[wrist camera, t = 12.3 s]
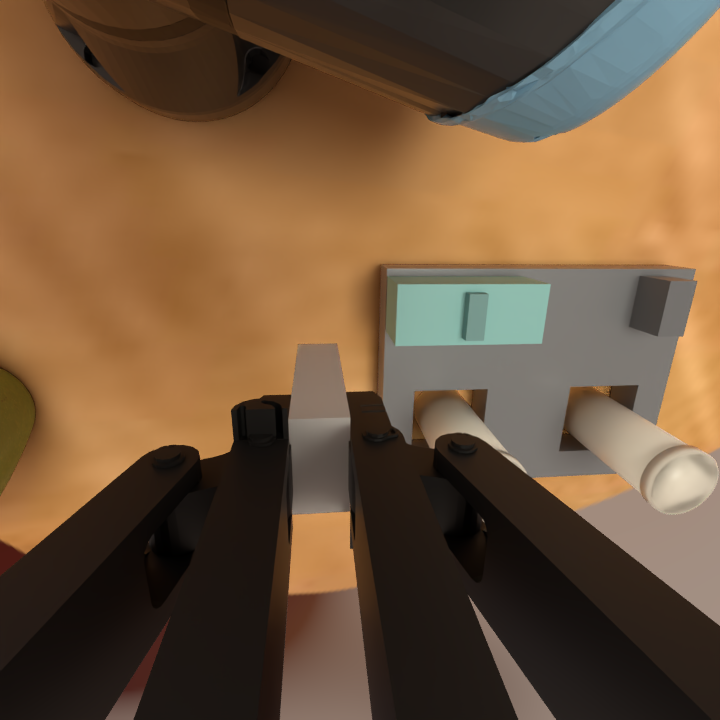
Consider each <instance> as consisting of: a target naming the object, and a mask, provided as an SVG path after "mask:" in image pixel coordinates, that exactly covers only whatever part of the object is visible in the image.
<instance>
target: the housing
mask: <svg viewBox="0 0 720 720" xmlns="http://www.w3.org/2000/svg"><path fill="white" fill-rule="evenodd" d="M695 270H696V269H691V268H684V267H676V266H669V265H439V264H381V280H380V317H379V354H378V391H377V395H379V396H380V397H381V398H382V401H383V404H384V406H385V409H386V412H387V414H388V417H389V420H390V422H391V425H392V426H393V427H395V428H397V429H399V430H400V432H401V433H402V434H403V436H404V438H405V441H406V443H408V444H411V445H414V446H419V447H425V448H430V447H429V445H428V443H427V441H426V439H422V440H412V427H413V409H414V392H415V391H437V390H473V398H472V407H471V408H472V409H473V411H474V412H475V413H476V414H477V416H478V417H479V418H480V419H481V420H482V422H483V423H484V424H485V425H486V426H487V428H488V429H489V430H490V431H491V433H492V434H493V435H494V436H495V437H496V439H497V440H498V441H499V442H500V443H501V445H502V446H503V447H504V448H505V449H506V451H507V452H508V453H509V454H511V455H513V456H514V457H515V458H516V459H517V460H518V461H519V463H520V464H521V465H522V466H523V467H524V469H525V470H526V472H527V475H529V476H530V477H531V478H535V477H556V476H576V475H597V474H617V473H616V472H615V471H613V470H612V469H611V468H610V467H609V466H608V465H606V464H605V463H604V462H603V461H602V460H600V459H599V458H598V457H597V456H596V455H594V454H593V453H592V452H591V451H590V450H589V449H587V448H586V447H585V446H584V445H583V444H581V443H580V442H579V441H578V440H577V439H576V438H574V437H573V436H572V435H571V434H562V431H563V426H564V420H565V415H566V409H567V404H568V398H569V392H570V387H584V386H612V388H611V393H610V398H611V399H613V400H615V401H616V402H618V403H620V404H621V405H623V406H625V407H626V408H628V409H630V410H631V411H633V412H634V413H636V414H638V415H639V416H641V417H643V418H644V419H646V420H648V421H649V422H651V423H653V424H654V425H656V423H657V419H658V415H659V411H660V408H661V404H662V400H663V396H664V392H665V388H666V384H667V380H668V376H669V372H670V368H671V364H672V361H673V357H674V353H675V349H676V345H677V341H678V337H679V336H683V335H684V331H685V327H686V323H687V319H688V315H689V312H690V308H691V304H692V300H693V296H694V292H695V288H696V284H697V281H694V280H693V278H694V274H695ZM388 276H523V277H527V278H531V279H534V280H538V281H541V282H545V283H549V284H551V286H550V293H549V300H548V306H547V313H546V319H545V326H544V333H543V339H542V344H497V345H436V346H395V345H394V343H393V342H392V340H391V338H390V337H389V335H388V334H387V332H386V308H387V277H388Z"/></svg>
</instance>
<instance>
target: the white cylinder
mask: <svg viewBox="0 0 720 720" xmlns="http://www.w3.org/2000/svg"><path fill="white" fill-rule="evenodd" d="M414 417H415V419H416V421H417V423H418V425H419V427H420V429H421V431H422V433H423V435H424V437H425V439H426V441H427V443H428V445H429V447H430V448H432V449H434V448H435V440H436V439H437V438H438V437H440V436H442V435H445V434H448V433H456V432H459V433H467V434H470V435H472V436H476V437H478V438H480V439H482V440H484V441H485V442H487V443H488V444H489V445H491V446H492V447H493V448H494V449H496V450H497V451H498V452H499V453H501V454H502V455H503V456H505V457H506V458H507V459H508V460H510V461H511V462H512V463H513V464H515V465H516V466H517V467H518V468H520V469H521V470H522V471H524V472H525V473H526V474H527V472H526V470H525V469H524V467H523V466H522V465H521V464H520V463H519V461H518V460H517V459H516V458H515V457H514V456H513V455H511V454H509V453H508V452H507V451H506V449H505V448H504V447H503V446H502V445H501V443H500V442H499V441H498V440H497V439H496V437H495V436H494V435H493V434H492V433H491V431H490V430H489V429H488V428H487V426H486V425H485V424H484V423H483V422H482V420H481V419H480V418H479V417H478V416H477V414H476V413H475V412H474V411H473V409H472V408H471V407H470V406H469V405H468V403H467V402H466V401H465V400H464V399H463V397H462V396H461V395H460V394H459V393H458V391H456V390H437V391H423V392H422V393H421V394H420V395H419V396H418V398H417V399H416V402H415V404H414ZM482 521H483V520H482ZM483 522H484V521H483Z"/></svg>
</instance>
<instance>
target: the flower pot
mask: <svg viewBox="0 0 720 720" xmlns="http://www.w3.org/2000/svg"><path fill="white" fill-rule="evenodd" d="M34 421H35V406H34V402H33V399H32V397H31V395H30V393H29V392H28V390H27V389H26V387H25V386H24V385H23V384H22V383H21V382H20V381H19V380H18V379H17V378H16V377H15V376H13V375H12V374H10V373H9V372H7V371H5V370H3V369H1V368H0V495H1V493H2V492H3V490H4V488H5V487H6V485H7V483H8V481H9V479H10V477H11V475H12V473H13V471H14V470H15V468H16V466H17V463H18V461H19V459H20V457H21V455H22V453H23V451H24V448H25V446H26V443H27V441H28V438H29V436H30V433H31V431H32V428H33V425H34Z"/></svg>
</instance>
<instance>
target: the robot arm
mask: <svg viewBox="0 0 720 720" xmlns="http://www.w3.org/2000/svg"><path fill="white" fill-rule="evenodd" d="M43 1H44V3H45V5H46V7H47V9H48V11H49V13H50V15H51V17H52V19H53V20H54V22H55V24H56V26H57V27H58V29H59V30H60V32H61V34H62V35H63V37H64V38H65V40H66V41H67V42H68V44H69V45H70V47H71V48H72V49H73V50H74V51H75V53H76V54H77V55H78V56H79V57H80V59H81V60H82V61H83V62H84V63H85V64H86V65H87V66H88V67H89V68H90V69H91V70H92V71H93V72H94V73H95V74H96V75H97V76H98V77H99V78H101V79H102V80H103V81H104V82H105V83H107V84H108V85H109V86H110V87H112V88H113V89H115V90H116V91H118V92H119V93H121V94H122V95H124V96H125V97H127V98H128V99H130V100H131V101H133V102H134V103H136V104H138V105H140V106H142V107H143V108H145V109H148V110H150V111H152V112H154V113H157V114H159V115H162V116H166V117H169V118H173V119H177V120H184V121H213V120H219V119H223V118H227V117H230V116H233V115H235V114H238V113H240V112H242V111H244V110H246V109H248V108H249V107H251V106H252V105H254V104H255V103H257V102H258V101H259V100H261V99H262V98H263V97H264V96H265V95H266V94H267V93H268V92H269V91H270V90H271V89H272V88H273V87H274V86H275V85H276V83H277V82H278V81H279V79H280V78H281V77H282V75H283V73H284V72H285V70H286V68H287V67H288V65H289V63H290V61H291V59H293V60H295V61H298V62H300V63H303V64H305V65H308V66H310V67H312V68H315V69H317V70H320V71H322V72H325V73H327V74H330V75H332V76H334V77H337V78H339V79H342V80H344V81H347V82H349V83H352V84H354V85H356V86H359V87H361V88H364V89H366V90H369V91H371V92H374V93H376V94H378V95H381V96H383V97H386V98H388V99H391V100H393V101H396V102H398V103H401V104H403V105H405V106H408V107H410V108H413V109H415V110H418V111H420V112H423V113H424V114H425V115H426V116H427V118H428V119H429V120H430V121H433V122H435V123H438V124H441V125H449V126H453V125H462V126H465V127H468V128H471V129H474V130H477V131H480V132H483V133H486V134H489V135H492V136H495V137H498V138H501V139H504V140H507V141H512V142H523V143H524V142H536V141H539V140H542V139H545V138H547V137H550V136H552V135H556V134H558V133H566V132H568V131H571V130H573V129H575V128H577V127H579V126H581V125H583V124H585V123H586V122H588V121H590V120H591V119H593V118H595V117H596V116H598V115H600V114H601V113H603V112H604V111H606V110H607V109H609V108H610V107H612V106H613V105H615V104H616V103H617V102H619V101H620V100H622V99H623V98H624V97H626V96H627V95H628V94H629V93H631V92H632V91H633V90H635V89H636V88H637V87H638V86H639V85H641V84H642V83H643V82H644V81H645V80H647V79H648V78H649V77H650V76H651V75H652V74H654V73H655V72H656V71H657V70H658V69H659V68H660V67H661V66H662V65H664V64H665V63H666V62H667V61H668V60H669V59H670V58H671V57H672V56H673V55H674V54H675V53H676V52H677V51H678V50H679V49H680V48H681V47H682V46H683V45H684V44H685V43H686V42H687V41H688V40H689V39H691V38H692V37H693V35H694V34H695V33H696V32H697V31H698V30H699V29H700V28H701V27H702V26H703V25H704V24H705V23H706V22H707V21H708V20H709V19H710V18H711V17H712V16H713V14H714V13H715V12H716V11H717V10H718V9H719V8H720V0H43ZM231 415H232V426H233V437H234V442H233V445H232V448H231V450H230V452H228V453H226V454H223V455H220V456H216V457H212V458H207V459H203V460H200V455H199V451H198V450H197V449H195V448H194V447H191V446H186V445H168V446H163V447H160V448H159V449H156V450H153V451H151V452H149V453H147V454H146V455H144V456H142V457H141V458H140V459H139V460H137V461H136V462H135V463H134V464H133V465H131V466H130V467H129V468H128V469H127V470H126V471H124V472H123V473H122V474H121V475H120V476H118V477H117V478H116V479H115V480H114V481H112V482H111V483H110V484H109V485H108V486H107V487H105V488H104V489H103V490H102V491H101V492H99V493H98V494H97V495H96V496H95V497H93V498H92V499H91V500H90V501H89V502H88V503H86V504H85V505H84V506H83V507H82V508H80V509H79V510H78V511H77V512H76V513H74V514H73V515H72V516H71V517H70V518H69V519H67V520H66V521H65V522H64V523H63V524H61V525H60V526H59V527H58V528H57V529H55V530H54V531H53V532H52V533H51V534H50V535H48V536H47V537H46V538H45V539H44V540H42V541H41V542H40V543H39V544H38V545H36V546H35V547H34V548H33V549H32V550H31V551H29V552H28V553H27V554H26V555H25V556H23V557H22V558H21V559H20V560H19V561H18V562H16V563H15V564H14V565H13V566H12V567H10V568H9V569H8V570H7V571H6V572H4V573H3V574H2V575H1V576H0V720H105V719H106V717H107V716H108V714H109V713H110V711H111V709H112V708H113V706H114V705H115V703H116V702H117V700H118V698H119V697H120V695H121V694H122V692H123V690H124V689H125V687H126V686H127V684H128V683H129V681H130V679H131V678H132V676H133V675H134V673H135V672H136V670H137V668H138V667H139V665H140V664H141V662H142V661H143V659H144V657H145V656H146V654H147V653H148V651H149V650H150V648H151V646H152V645H153V643H154V642H155V640H156V639H157V637H158V635H159V634H160V632H161V631H162V629H163V628H164V626H165V624H166V622H167V621H168V620H169V618H170V620H169V623H168V626H167V628H166V631H165V634H164V637H163V639H162V642H161V645H160V648H159V651H158V654H157V656H156V659H155V662H154V664H153V667H152V670H151V673H150V676H149V678H148V681H147V684H146V687H145V689H144V692H143V695H142V698H141V701H140V703H139V706H138V709H137V712H136V715H135V717H134V720H280V706H281V692H282V677H283V663H284V662H283V661H284V648H285V633H286V618H287V604H288V603H287V602H288V589H289V574H290V559H291V545H292V530H293V524H292V515H293V514H311V513H330V512H348V511H350V549H353V552H354V561H355V570H356V579H357V588H358V596H359V605H360V614H361V623H362V632H363V641H364V650H365V657H366V668H367V676H368V685H369V694H370V703H371V712H372V720H518V718H517V716H516V713H515V711H514V708H513V706H512V703H511V701H510V698H509V695H508V693H507V691H506V689H505V686H504V683H503V681H502V678H501V676H500V673H499V671H498V668H497V666H496V664H495V661H494V659H493V656H492V653H491V651H490V648H489V646H488V644H487V641H486V639H485V636H484V634H483V631H482V629H481V627H480V624H479V621H478V619H477V616H476V614H475V611H474V609H473V606H472V604H471V602H470V599H469V597H470V598H471V599H472V601H473V602H474V604H475V605H476V607H477V608H478V609H479V611H480V612H481V613H482V615H483V616H484V618H485V619H486V620H487V622H488V624H489V625H490V626H491V628H492V629H493V631H494V632H495V633H496V635H497V636H498V638H499V639H500V640H501V642H502V643H503V645H504V646H505V647H506V649H507V650H508V652H509V653H510V655H511V656H512V658H513V659H514V660H515V662H516V663H517V664H518V666H519V667H520V669H521V670H522V672H523V673H524V675H525V676H526V677H527V679H528V680H529V682H530V683H531V684H532V686H533V687H534V689H535V690H536V691H537V693H538V694H539V696H540V697H541V699H542V700H543V701H544V703H545V704H546V706H547V707H548V709H549V710H550V711H551V713H552V714H553V716H554V717H555V718H556V720H720V626H719V625H718V624H717V623H715V622H714V621H713V620H711V619H710V618H709V617H708V616H706V615H705V614H704V613H702V612H701V611H700V610H699V609H697V608H696V607H695V606H694V605H692V604H691V603H690V602H689V601H687V600H686V599H685V598H683V597H682V596H681V595H680V594H678V593H677V592H676V591H675V590H673V589H672V588H671V587H669V586H668V585H667V584H665V583H664V582H663V581H662V580H661V579H659V578H658V577H657V576H656V575H654V574H653V573H651V571H649V570H648V569H647V568H645V567H644V566H643V565H642V564H640V563H639V562H637V561H636V560H635V559H634V558H633V557H631V556H630V555H629V554H628V553H626V552H625V551H624V550H623V549H621V548H620V547H619V546H618V545H616V544H615V543H614V542H612V541H611V540H610V539H609V538H607V537H606V536H605V535H604V534H602V533H601V532H600V531H598V530H597V529H596V528H595V527H593V526H592V525H591V524H590V523H588V522H587V521H586V520H585V519H583V518H582V517H581V516H579V515H578V514H577V513H576V512H574V511H573V510H572V509H571V508H569V507H568V506H567V505H565V504H564V503H563V502H562V501H560V500H559V499H558V498H557V497H555V496H554V495H553V494H552V493H550V492H549V491H548V490H546V489H545V488H544V487H543V486H541V485H540V484H539V483H538V482H536V481H535V480H534V479H532V478H531V477H530V476H529V475H527V474H526V473H525V472H524V471H522V470H521V469H520V468H518V467H517V466H516V465H515V464H513V463H512V462H511V461H510V460H508V459H507V458H506V457H505V456H503V455H502V454H501V453H499V452H498V451H497V450H496V449H494V448H493V447H492V446H491V445H489V444H488V443H487V442H485V441H484V440H482V439H480V438H478V437H476V436H472V435H470V434H467V433H459V432H456V433H448V434H445V435H442V436H440V437H438V438H437V439H436V440H435V448H434V449H432V448H425V447H419V446H414V445H411V444H408V443H406V441H405V438H404V436H403V434H402V433H401V432H400V430H399V429H397V428H395V427H393V426H392V425H391V422H390V420H389V417H388V414H387V412H386V409H385V406H384V404H383V401H382V398H381V397H380V396H379V395H377V394H376V393H374V392H373V391H367V392H346V390H345V385H344V379H343V373H342V368H341V362H340V357H339V351H338V346H337V344H298V350H297V357H296V365H295V372H294V380H293V387H292V395H264V396H263V397H261V398H260V399H252V400H248V401H244V402H241V403H239V404H238V405H236V406H234V407H233V409H232V410H231ZM482 520H483V521H484V522H483V521H482ZM468 595H469V597H468Z"/></svg>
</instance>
